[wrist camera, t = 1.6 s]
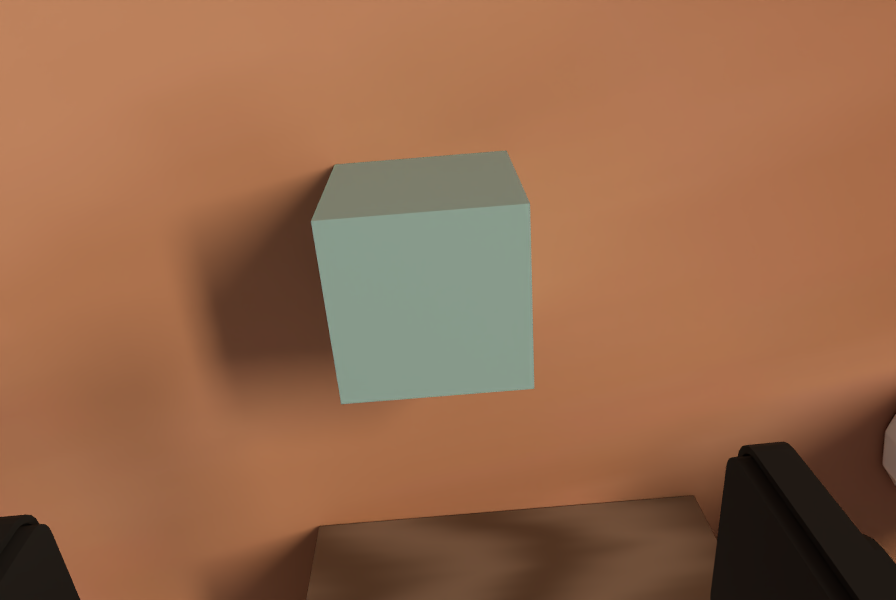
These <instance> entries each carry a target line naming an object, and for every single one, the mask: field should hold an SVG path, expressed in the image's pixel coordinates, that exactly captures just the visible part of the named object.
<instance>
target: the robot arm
mask: <svg viewBox="0 0 896 600" xmlns="http://www.w3.org/2000/svg"><path fill="white" fill-rule="evenodd" d="M0 600H80V598H79V596H78V593H77V591H76V589H75V586H74V584H73V581H72V579H71V577H70V574H69V572H68V570H67V567H66V565H65V563H64V560H63V558H62V555H61V553H60V551H59V548H58V546H57V544H56V541H55V539H54V536H53V534H52V532H51V530H50V528H49V527H48V526H47V525H45V524H39V523H38V521H37V519H36V518H34V517H33V516H32V515H17V516H7V517H0ZM710 600H896V564H895V563H894V561H893V560H892V559H891V558H890V556H889V555H888V554H887V553H886V551H885V550H884V549H883V548H882V547H881V546H880V545H879V544H878V543H877V542H876V541H875V540H874V539H872V538H870V537H868V536H866V535H864V534H861V532H860V531H859V530H858V529H857V527H856V526H855V525H854V524H853V522H852V521H851V520H850V519H849V517H848V516H847V515H846V514H845V512H844V511H843V510H842V509H841V507H840V506H839V505H838V504H837V502H836V501H835V500H834V499H833V497H832V496H831V495H830V494H829V492H828V491H827V490H826V489H825V487H824V486H823V485H822V484H821V482H820V481H819V480H818V479H817V477H816V476H815V475H814V474H813V472H812V471H811V470H810V468H809V467H808V466H807V465H806V463H805V462H804V461H803V460H802V458H801V457H800V456H799V455H798V453H797V452H796V451H795V450H794V448H793V447H792V446H790V445H789V444H788V443H786V442H775V443H765V444H754V445H745V446H742V447H741V449H740V450H739V453H738V457H732V458H729V460H728V462H727V466H726V474H725V482H724V490H723V498H722V506H721V514H720V522H719V529H718V537H717V545H716V553H715V561H714V569H713V577H712V585H711V593H710Z"/></svg>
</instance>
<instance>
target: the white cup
mask: <svg viewBox="0 0 896 600" xmlns="http://www.w3.org/2000/svg"><path fill="white" fill-rule="evenodd" d="M882 463H883V466H884V468H885V470H886V471H887V473H888V475H889V476H890V478H891V480H892V481H893V483H894V485H895V486H896V414H895V416H894V417H893V419H892V421H891V422H890V424H889V426H888V427H887V429H886V431H885V440H884V451H883V462H882Z"/></svg>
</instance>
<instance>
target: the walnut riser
mask: <svg viewBox="0 0 896 600" xmlns="http://www.w3.org/2000/svg"><path fill="white" fill-rule="evenodd" d="M716 545H717V539H716V538H715V536H714V534H713V532H712V530H711V528H710V526H709V524H708V522H707V520H706V518H705V516H704V514H703V512H702V510H701V508H700V506H699V505H698V503H697V501H696V499H695V497H694V496H682V497H670V498H658V499H645V500H633V501H621V502H609V503H597V504H585V505H573V506H560V507H548V508H536V509H524V510H512V511H500V512H487V513H475V514H463V515H451V516H439V517H427V518H415V519H402V520H390V521H378V522H366V523H354V524H342V525H329V526H319V530H318V536H317V541H316V547H315V553H314V558H313V564H312V570H311V575H310V581H309V587H308V592H307V598H306V600H710V593H711V585H712V577H713V569H714V561H715V553H716Z"/></svg>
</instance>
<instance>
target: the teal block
mask: <svg viewBox="0 0 896 600" xmlns="http://www.w3.org/2000/svg"><path fill="white" fill-rule="evenodd" d="M311 225H312V231H313V237H314V243H315V249H316V255H317V261H318V267H319V273H320V279H321V285H322V291H323V297H324V303H325V309H326V315H327V321H328V327H329V333H330V339H331V345H332V351H333V357H334V363H335V369H336V375H337V381H338V387H339V393H340V399H341V404H349V403H362V402H374V401H387V400H399V399H412V398H424V397H437V396H449V395H461V394H474V393H486V392H499V391H511V390H524V389H534V358H533V314H532V271H531V228H530V202H529V200H528V198H527V196H526V193H525V191H524V189H523V187H522V184H521V182H520V180H519V178H518V175H517V173H516V171H515V169H514V166H513V164H512V162H511V160H510V157H509V155H508V153H507V151H495V152H483V153H471V154H458V155H446V156H434V157H422V158H409V159H397V160H385V161H372V162H360V163H348V164H336V165H334V168H333V170H332V172H331V175H330V177H329V179H328V182H327V184H326V186H325V189H324V191H323V194H322V196H321V198H320V201H319V203H318V205H317V208H316V210H315V213H314V215H313V217H312V220H311Z"/></svg>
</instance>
